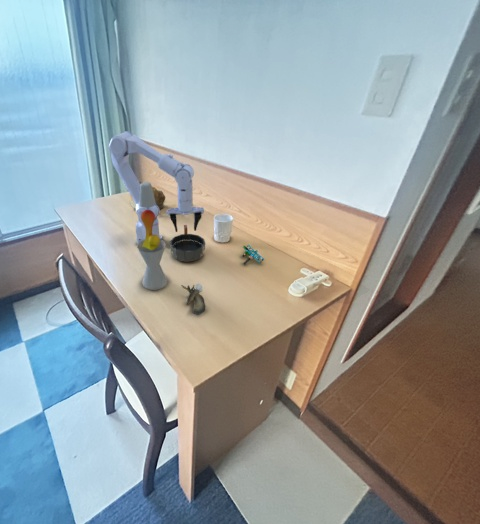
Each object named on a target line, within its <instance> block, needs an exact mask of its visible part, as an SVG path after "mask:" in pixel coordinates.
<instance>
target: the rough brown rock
mask: <svg viewBox="0 0 480 524" xmlns="http://www.w3.org/2000/svg"><path fill="white" fill-rule="evenodd" d="M138 181H139V183H140V184H141V183H142V181H140V180H138ZM152 190H153V194H154V198H155V202H156V205H157V206H158V207H159V210H160V209H163V208H164V203H165V200H166V196H165V194H164V192H163V190H159V189H157V188H156V187H155V186H152ZM128 193H129V192H128ZM129 201H130V205H131V207H132V208H133V209H135V210H136V203H135V202H134V200H133V198H132V197H131V195H130V193H129Z"/></svg>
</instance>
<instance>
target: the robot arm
mask: <svg viewBox="0 0 480 524" xmlns="http://www.w3.org/2000/svg"><path fill="white" fill-rule="evenodd" d="M108 149H109V152H110V157H111V163H112V165H113V167H114V169H115V170H116V172H117V174H118V176H119V178H120V179H121V181H122V183H123V185H124V186H125V188H126V189H127V192H128V193H130V194H129V196H130V195H131V197H132V198H133V200H134V202H135V203H136V209H135V212H136V214H137V219H138V221H136V224H135V234H136V235H135V236H136V245H138V243H139V242H141V241H143V240H145V238H146V229H145V226H144V224H143V222H142V220H141V214H142V212H143V211H145V210H151V211H152V212H153V213H154V214H155V220H154V223H153V227H152V234H153V235H157V236H158V237H159V239H161V240H162V239H163V236H162V235H160V225H159V218H158V216H159V215H160V209H159V207H158V206H157V205H155V206H152V207H147V208H146V207H141V206H139V198H140V183H139V181H140V180H138V178H137V176H136V174H135V172H134V171H133V169H132V166H131V165H130V163H129V158H130V155H131V154H134V153H139V154H140V155H142V156H144V157H146V158H147V159H148V160H151V161H153V162H154V163H156V164H157V166H158V169H159V170H161V171H163V172H164V173H166V174H168V175H169V176H171V177H172V178H174V180H175V182H176V184H177V207H174V208H169V209H166V216H167V217H169V218H170V220H171V222H172V224H173V226H174V230H175V233H178V224H177V223H178V222H177V216H178V215H183V216H189V215H193V231H194V232H196V231H197V228H198V225H199V222H200V221H201V219H202V215H204V214H205V208H204V207H202V206H194V203H193V200H194V199H193V197H194V196H193V195H194V193H193V191H194V189H193V188H194V187H193V177H194V174H195V171H194V168H193V167H192V166H191V165H190V164H189V163H184V162H183V161H182V162H181V161H179V160H178V159H176V158H174V155H173V154H171V153H164V154H162V153H161V152H159V151H158V150H156V149H154V147H152V146H151V145H149V144H148V143H147V142H145V141H143V139H141V138H140V137H139V136H138V135H137V134H133V132H131V131H127V130H125V131H123V132H122V133H119V134H116V135H114V136H112V137H111V138H110V141H109V143H108Z"/></svg>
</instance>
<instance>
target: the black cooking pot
mask: <svg viewBox="0 0 480 524" xmlns="http://www.w3.org/2000/svg"><path fill="white" fill-rule="evenodd" d="M169 245H170V246H169V247H170V252H171V253H172V257H174V259H176V260H177V261H180V262H184V263H185V262H194V261H195V262H196V261H197V260H200V259H201V258H202V257H203V256H204V252H205V250H206V241H205V238H204V237H202V236H200V235H199V234H194V233H188V225H187V224H183V233H182V234H181V233H180V234H179V235H175V236H174V237H172V238H171V240H170V241H169Z"/></svg>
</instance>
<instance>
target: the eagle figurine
mask: <svg viewBox="0 0 480 524" xmlns="http://www.w3.org/2000/svg"><path fill="white" fill-rule="evenodd" d="M181 288H183V289H184V290H186V291H187V292H188V293H189V294H188V297H187V301H186V306H188V305H189V304H191V303H192V301H193V308H192V313H193V314H194V315H198V316H199V315H201V314H202V313H203V312H204V311H205V310H206V303H205V299H204V297H203V295H201V294H200V293H202V292H203V285H202V284H201V283H196V285H195V284H193V285H192V287H190V285H187V286H184V285H183V284H181Z"/></svg>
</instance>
